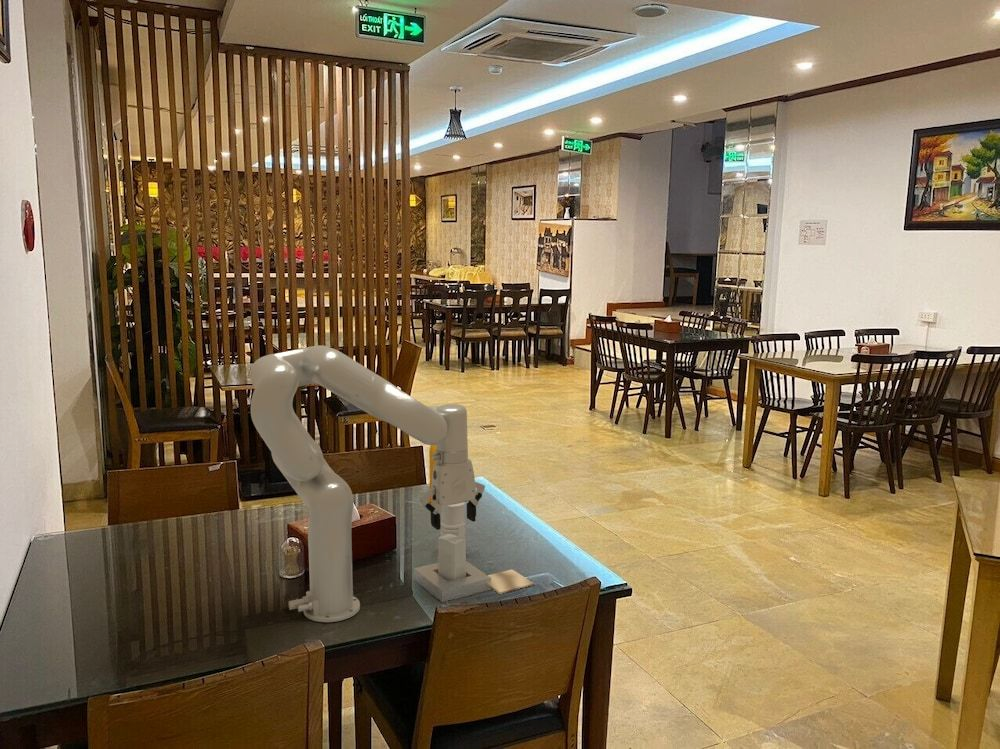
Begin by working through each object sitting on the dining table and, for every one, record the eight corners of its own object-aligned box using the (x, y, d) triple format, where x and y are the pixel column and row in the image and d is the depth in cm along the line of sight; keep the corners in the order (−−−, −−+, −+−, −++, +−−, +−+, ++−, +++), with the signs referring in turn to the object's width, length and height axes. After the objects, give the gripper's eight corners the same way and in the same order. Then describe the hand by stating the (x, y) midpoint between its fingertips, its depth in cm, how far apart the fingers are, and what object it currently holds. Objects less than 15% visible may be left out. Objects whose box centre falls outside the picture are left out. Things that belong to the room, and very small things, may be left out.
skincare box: (466, 585, 187) (466, 539, 186) (454, 591, 184) (454, 543, 182) (449, 578, 191) (449, 532, 190) (437, 583, 188) (436, 537, 187)
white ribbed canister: (450, 563, 201) (450, 508, 199) (434, 555, 206) (434, 501, 204) (470, 556, 206) (470, 503, 203) (455, 549, 211) (454, 496, 209)
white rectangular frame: (441, 602, 178) (441, 590, 178) (413, 579, 191) (413, 568, 190) (491, 589, 185) (491, 577, 185) (460, 568, 198) (460, 557, 197)
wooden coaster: (499, 594, 182) (499, 592, 182) (478, 579, 191) (478, 577, 191) (534, 585, 188) (534, 583, 188) (511, 571, 196) (511, 569, 196)
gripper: (427, 465, 175) (429, 536, 178) (491, 453, 184) (492, 521, 187) (412, 458, 182) (415, 526, 184) (475, 447, 191) (476, 512, 193)
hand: (454, 523), depth 186 cm, fingers open, 9 cm apart
